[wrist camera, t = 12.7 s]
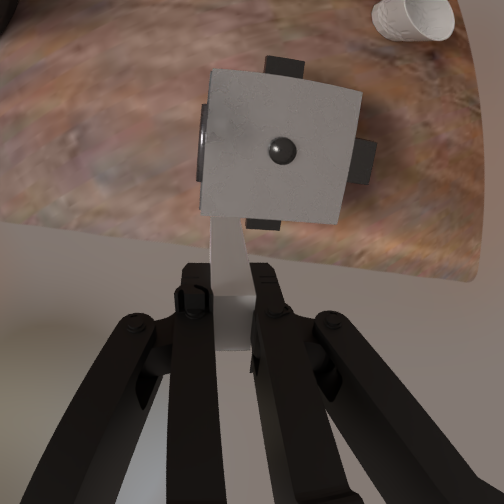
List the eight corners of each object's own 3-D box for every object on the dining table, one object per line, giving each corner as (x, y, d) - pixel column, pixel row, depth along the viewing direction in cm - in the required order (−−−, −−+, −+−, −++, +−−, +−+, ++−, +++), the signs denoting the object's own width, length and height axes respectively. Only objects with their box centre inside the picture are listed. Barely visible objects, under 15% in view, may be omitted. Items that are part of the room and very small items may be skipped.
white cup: (377, 48, 34) (416, 42, 26) (359, -2, 31) (394, -18, 22) (419, 42, 34) (461, 39, 25) (403, -4, 30) (443, -16, 21)
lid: (205, 68, 27) (205, 67, 26) (380, 97, 30) (387, 98, 28) (194, 211, 34) (193, 217, 33) (354, 223, 37) (359, 228, 36)
